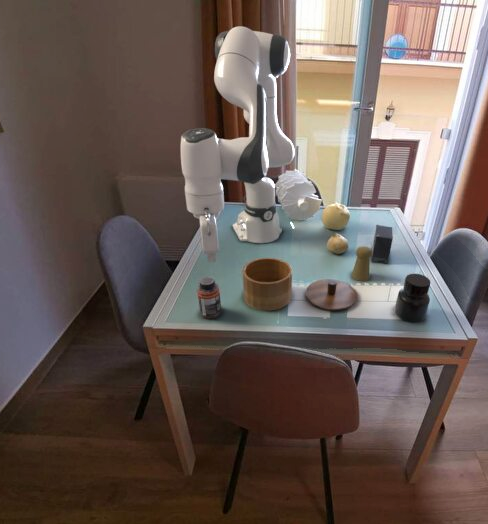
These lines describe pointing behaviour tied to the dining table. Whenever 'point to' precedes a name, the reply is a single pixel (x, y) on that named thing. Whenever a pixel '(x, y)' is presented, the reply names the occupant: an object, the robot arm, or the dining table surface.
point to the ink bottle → (413, 298)
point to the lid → (331, 294)
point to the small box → (382, 244)
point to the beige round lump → (335, 216)
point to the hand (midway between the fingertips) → (210, 252)
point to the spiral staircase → (297, 195)
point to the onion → (337, 244)
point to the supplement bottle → (209, 298)
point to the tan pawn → (362, 264)
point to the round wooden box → (267, 283)
